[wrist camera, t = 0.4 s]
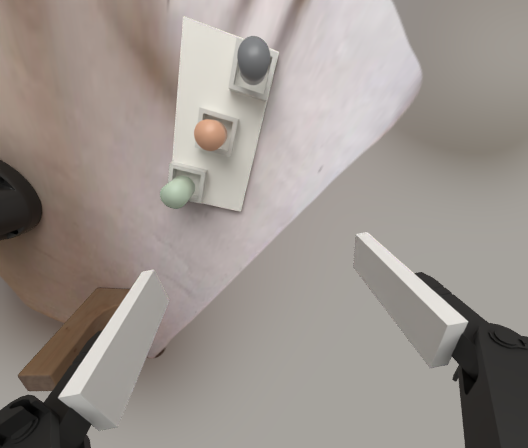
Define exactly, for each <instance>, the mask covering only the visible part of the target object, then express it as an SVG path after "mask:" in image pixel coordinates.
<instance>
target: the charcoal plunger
mask: <svg viewBox="0 0 528 448" xmlns="http://www.w3.org/2000/svg"><path fill="white" fill-rule="evenodd" d="M237 59H238V66H239V72H240V75H241V77H242V79H243V80H244V81H245V82H246V83H247V84H249V85H257V84H259V83H261V82H262V81H263V79H264V78H265V76H266V73H267V70H268V68H269V65H270V51H269V48H268V46H267V44H266V43H265V41H264V40H262V39H261V38H259V37H256V36H250V37H247V38H246V39H244V40H243V41H242V43H241V44H240V46H239V49H238V53H237Z"/></svg>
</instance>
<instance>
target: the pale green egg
mask: <svg viewBox="0 0 528 448" xmlns="http://www.w3.org/2000/svg"><path fill="white" fill-rule="evenodd" d="M194 192H195V184H194V182H193V181H192V179H190V178H189V177H187V176H183V175H181V176H177V177H176V178H174V179H173V180H172V181H170V182H169V183H168V184H166V185H165V186H164V187H163V188H162V189H161V192H160V197H161V200H162V202H163V203H164V204H165V205H166V206H168V207H170V208H173V209H178V208H181V207H183V206H184V205H185V204H186V203H187V201H188V200H189V199H190V197H191V196H192V195H193V194H194Z"/></svg>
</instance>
